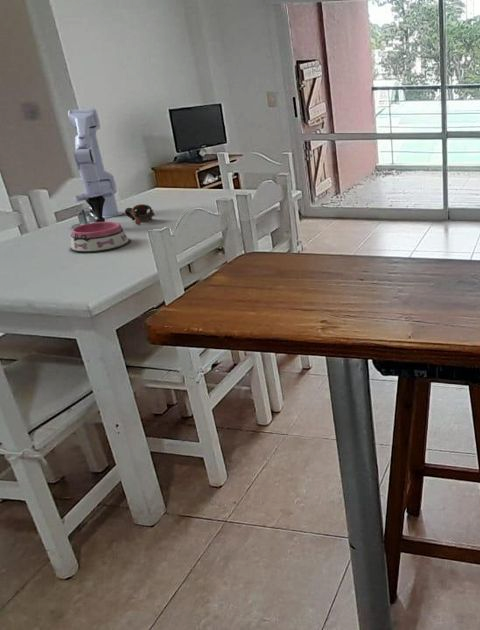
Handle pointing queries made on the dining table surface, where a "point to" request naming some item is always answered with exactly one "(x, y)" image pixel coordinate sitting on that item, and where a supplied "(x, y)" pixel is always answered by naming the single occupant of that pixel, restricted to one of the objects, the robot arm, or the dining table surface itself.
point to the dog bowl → (98, 237)
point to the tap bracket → (84, 217)
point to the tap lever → (88, 213)
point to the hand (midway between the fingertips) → (99, 216)
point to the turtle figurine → (139, 213)
